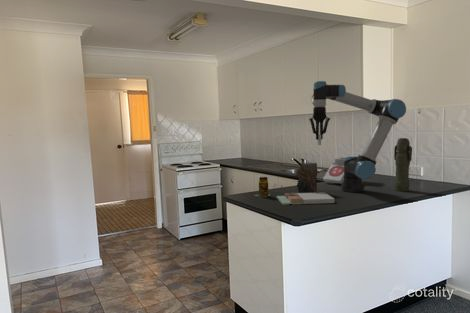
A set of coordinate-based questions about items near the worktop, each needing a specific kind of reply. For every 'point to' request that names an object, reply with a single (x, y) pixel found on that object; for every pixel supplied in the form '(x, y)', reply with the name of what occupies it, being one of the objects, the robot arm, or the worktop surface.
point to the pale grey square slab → (316, 198)
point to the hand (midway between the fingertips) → (319, 144)
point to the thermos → (402, 164)
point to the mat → (287, 201)
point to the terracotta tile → (295, 199)
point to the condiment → (263, 187)
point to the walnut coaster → (290, 194)
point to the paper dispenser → (335, 171)
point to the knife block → (307, 178)
